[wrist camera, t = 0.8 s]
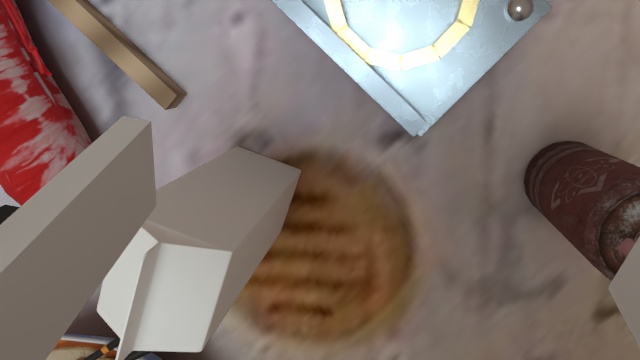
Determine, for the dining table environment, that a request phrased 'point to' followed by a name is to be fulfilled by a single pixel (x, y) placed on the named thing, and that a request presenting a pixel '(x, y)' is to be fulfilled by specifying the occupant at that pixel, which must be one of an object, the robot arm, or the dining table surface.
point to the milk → (196, 252)
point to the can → (588, 200)
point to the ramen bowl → (93, 349)
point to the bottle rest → (121, 51)
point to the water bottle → (31, 114)
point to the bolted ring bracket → (415, 46)
